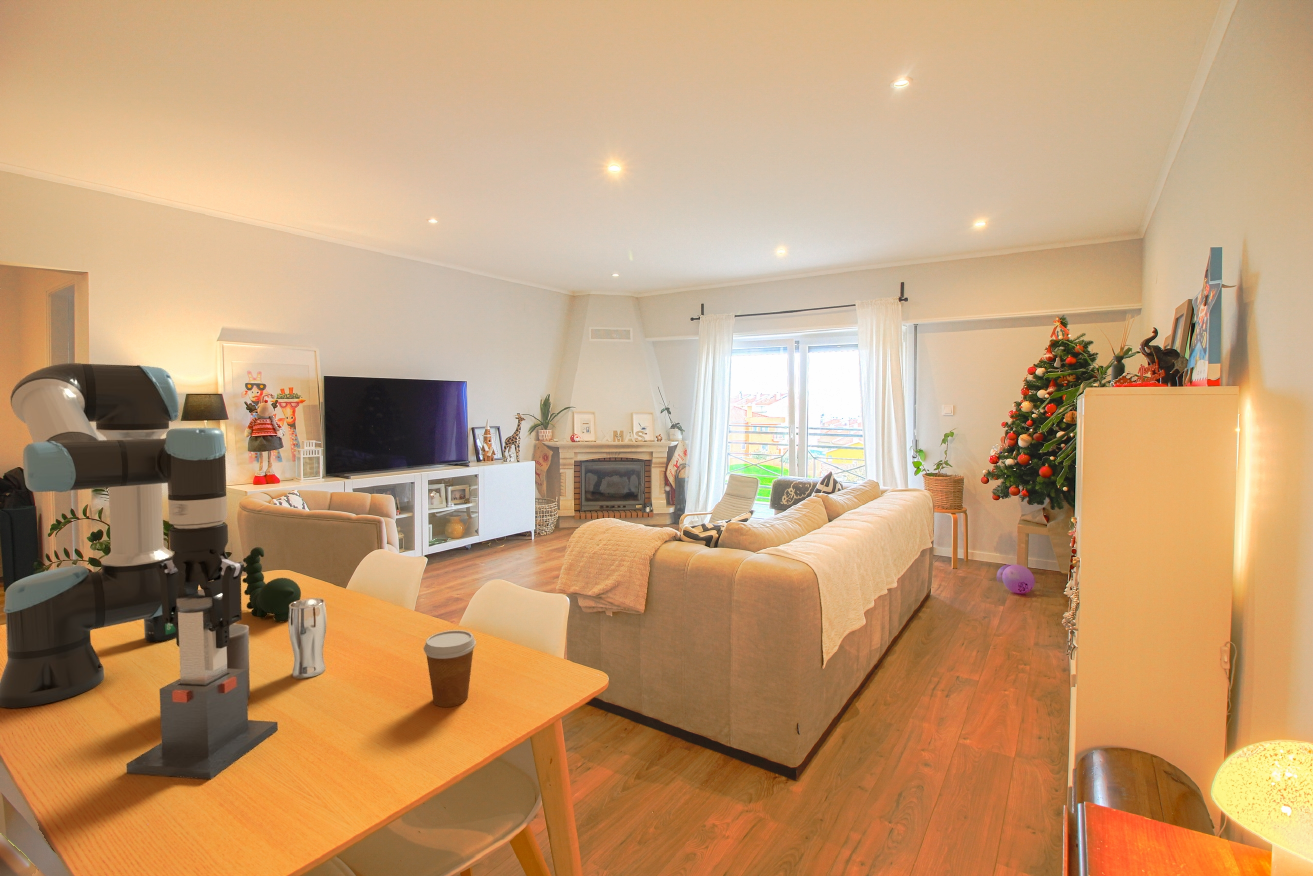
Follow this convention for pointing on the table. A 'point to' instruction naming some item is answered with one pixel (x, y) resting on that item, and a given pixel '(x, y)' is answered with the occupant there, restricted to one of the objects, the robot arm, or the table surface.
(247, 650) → the pillar candle
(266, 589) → the toy figurine
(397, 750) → the table surface
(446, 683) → the disposable coffee cup
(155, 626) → the supplement bottle
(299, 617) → the beer glass
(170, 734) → the jack stand
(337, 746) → the table surface
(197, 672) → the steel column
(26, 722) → the table surface
